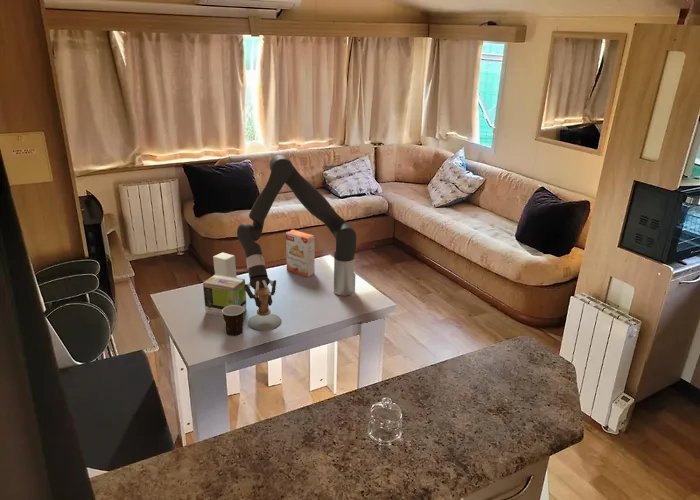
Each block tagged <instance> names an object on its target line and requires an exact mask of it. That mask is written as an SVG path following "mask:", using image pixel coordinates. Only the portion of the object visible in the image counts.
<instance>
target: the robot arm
mask: <svg viewBox="0 0 700 500" xmlns="http://www.w3.org/2000/svg"><path fill="white" fill-rule="evenodd" d="M269 170H270V174H269V177H268V180H267V182H266V185H265V186H264V188H263V190H262V191H261V192H260V194H259V195H258V197H257V198H256V200H255V201H254V203H253V206H252V207H251V209H250V211H249V213H248V217H249V219H251V221H252V224H251V223H241V224H239V225H238V227H237V229H236V235H237V238H238V241H239V243H240V245H241V247H242V249H243V251H244V255H245V260H246V270H247V272H248V277H249V283H245V286H244V289H245V291H246V295H247V296H248V298H249V299H250V300H251V299H252V300H254V303H255V306H256V307H257V308H258V309H259V307H260V301H259V298H258V294H257V289H259V288H268V289H269V290H270V288H269V285H270V286H271V290H270V293H269V294H268V307H270V306H272V304H273V298H272V296H274V295H275V293H276V288H277V287H276V286H277V280H275V279H274V280H272V279H271V280H270V278H269V276H268V271H267V267H266V261H265V258H264V257H263V251H262V248H261V247H262V246H261V245H260V244H259V243H257V241H258V240H259V239H260V238H261V237H262V233H263V229H264V225H265V220H266V218H267V216H268V214H269V212H270V210H271V207H272V206H273V205H274V202H275V200H276V199H277V196H278V194H280V191H281V190H282V188H283V187H284V186H285V184H286V185H287V187H289V189H290V190H291V191H292V193H293V194H294V196H295V198H296V199H298V202H299V203H300V204H301V205H302V206H303V207H304V208H305V210H307V211H308V212H309V214H311V215H313V217H315V218H316V219H317V220H319V221H320V222H322V223H323V224H324V225H325V226H326V228H328V230H329V231H330V232H331V234H332V236H333V237H334V239H335V251H334V252H333V253H334V254H333V257H334V258H333V261H334V265H333V293H334V294H336V295H338V296H341V297H344V296H350V295H352V294H355V293H356V273H355V255H356V253H357V252H356V250H357V233H356V231H355V229H354V228H353V226H352V225H351V224H350V223H348V222H347V221H346V220H345V219H344V218H342V217H341V216H340V215H339V214H338V213H337V212H336V211H335V209H334V207H332V205H331V204H330V203H329V202H330V201H328V200H327V199H326V197H325V196H324V195H323V194H322V193H321V192H320V191H319V190H318V189H317V188H316V187H315V186H314V185H313V184H312V183H310V181H308V180H307V179H306V178H305V177H303V175H302V174H300V172H299V171H298V170H297V169H296V167H295V166H294V165H293V162H292V161H291V160H290V158H289V157H287V156H285V155H283V154H282V155H281V154H277V155H274V156H272V158H271V160H270V161H269ZM251 288H252V289H254V293H253V292H252V290H251Z"/></svg>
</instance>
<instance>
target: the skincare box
mask: <svg viewBox="0 0 700 500" xmlns="http://www.w3.org/2000/svg"><path fill="white" fill-rule="evenodd" d="M212 258H213V268H214V275H215V274H216V275H222V276H228V277H234V278H238V277H237V269H236V268H237V267H236V256H235V255H234V254H229V253H226V252H224V251H222V252H220V253H218V254H215V255H214V256H212Z"/></svg>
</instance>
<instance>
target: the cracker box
mask: <svg viewBox="0 0 700 500" xmlns="http://www.w3.org/2000/svg"><path fill="white" fill-rule="evenodd" d="M315 236H316V235H313V234H311V233H307V232H304V231H301V230H300V231H299V230H296V229H291V230H289V231H286V232H285V245H286V246H285V251H286V253H285V254H286V271H289V272H292V273H295V274H298V275H300V276H303V277H306V278H309V277H311V276H312V275H314V274H315V273H316V272H315V263H316V262H315V258H316V257H315V256H316V255H315V251H316V250H315V239H316V238H315Z"/></svg>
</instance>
